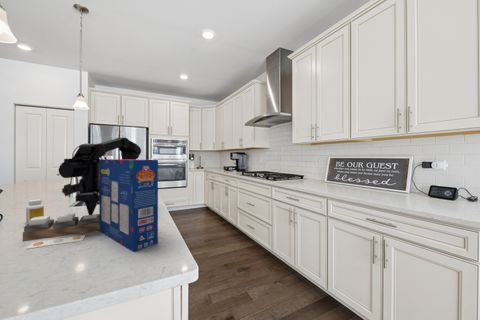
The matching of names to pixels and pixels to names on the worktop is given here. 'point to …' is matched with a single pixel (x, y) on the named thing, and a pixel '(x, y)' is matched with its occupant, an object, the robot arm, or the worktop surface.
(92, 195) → the robot arm
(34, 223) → the key
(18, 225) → the worktop surface
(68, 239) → the pattern card
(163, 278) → the worktop surface
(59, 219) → the key middle
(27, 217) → the supplement bottle
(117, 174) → the blue cardboard box
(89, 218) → the key
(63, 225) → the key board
